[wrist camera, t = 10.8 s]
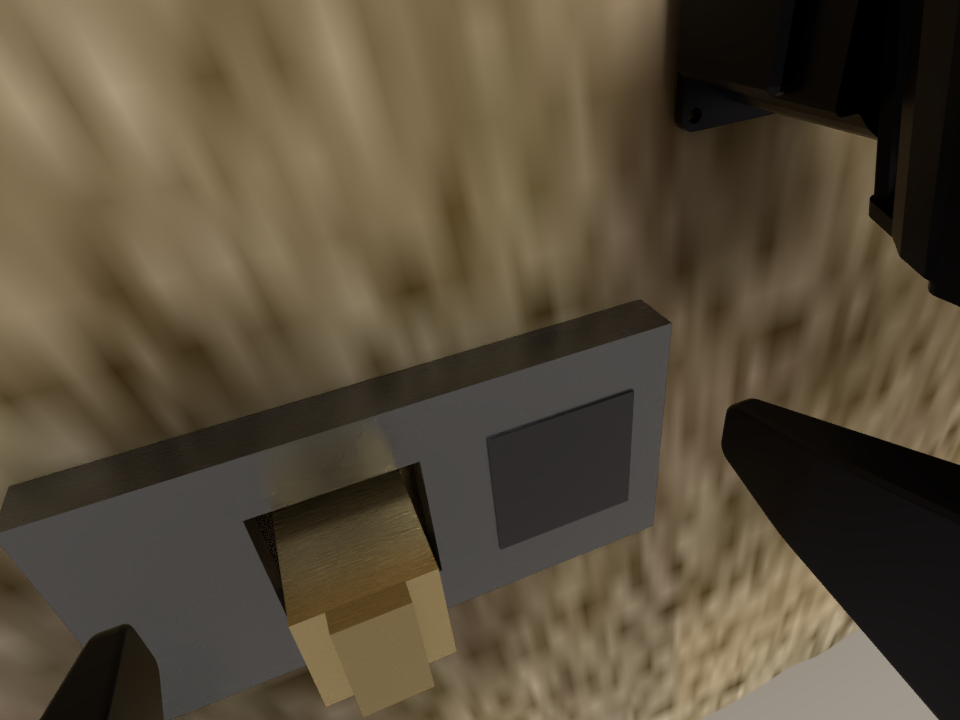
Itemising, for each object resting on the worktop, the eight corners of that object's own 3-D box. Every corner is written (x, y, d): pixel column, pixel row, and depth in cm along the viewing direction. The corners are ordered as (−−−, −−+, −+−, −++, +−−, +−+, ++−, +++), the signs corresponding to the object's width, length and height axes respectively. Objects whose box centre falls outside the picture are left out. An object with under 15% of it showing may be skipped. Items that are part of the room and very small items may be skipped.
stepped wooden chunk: (388, 445, 24) (446, 588, 18) (408, 527, 26) (464, 673, 21) (267, 485, 22) (291, 650, 17) (301, 566, 25) (330, 731, 20)
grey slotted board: (640, 299, 24) (673, 324, 23) (629, 496, 31) (654, 527, 29) (8, 487, 19) (-9, 537, 17) (152, 679, 25) (149, 730, 23)
